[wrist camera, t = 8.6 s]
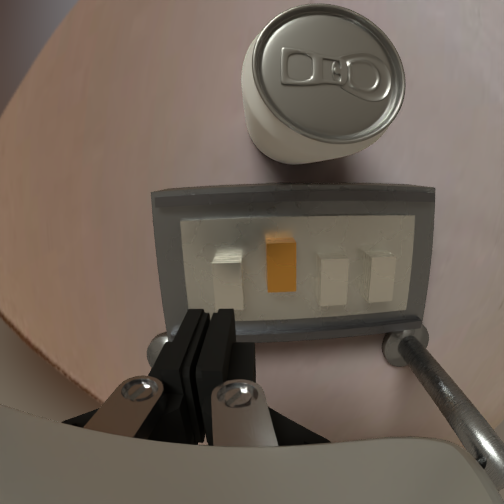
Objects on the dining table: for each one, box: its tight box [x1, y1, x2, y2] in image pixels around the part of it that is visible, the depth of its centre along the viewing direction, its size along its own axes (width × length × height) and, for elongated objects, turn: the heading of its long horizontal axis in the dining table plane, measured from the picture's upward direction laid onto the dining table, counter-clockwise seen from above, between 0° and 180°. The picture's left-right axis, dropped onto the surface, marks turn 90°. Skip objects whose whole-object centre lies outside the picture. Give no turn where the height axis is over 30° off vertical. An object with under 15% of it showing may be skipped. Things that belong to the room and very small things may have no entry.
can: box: [241, 4, 405, 164], centre depth 15 cm, size 6×6×12 cm
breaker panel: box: [151, 183, 435, 343], centre depth 20 cm, size 18×10×6 cm, turn 92°
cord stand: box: [147, 325, 504, 491], centre depth 17 cm, size 24×4×17 cm, turn 92°
